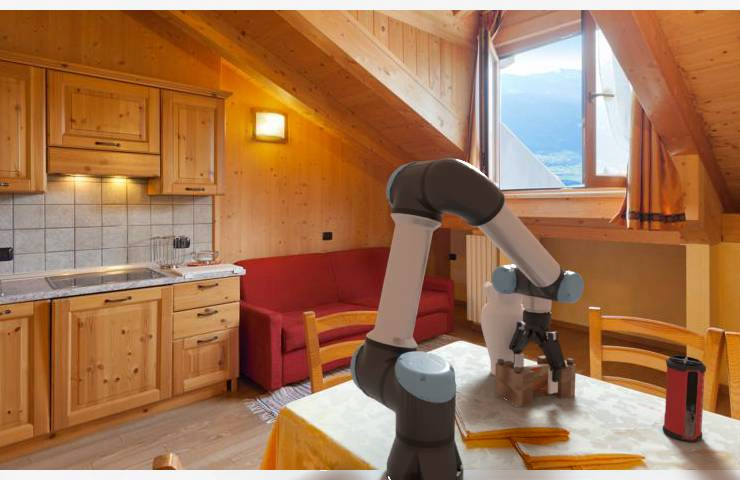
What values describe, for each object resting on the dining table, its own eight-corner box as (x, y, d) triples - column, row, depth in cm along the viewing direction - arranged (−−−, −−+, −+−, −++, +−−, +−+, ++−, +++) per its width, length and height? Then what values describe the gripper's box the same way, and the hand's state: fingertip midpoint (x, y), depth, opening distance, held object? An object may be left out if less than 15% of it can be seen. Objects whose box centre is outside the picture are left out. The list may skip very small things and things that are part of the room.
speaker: (664, 423, 113) (668, 352, 112) (703, 433, 108) (707, 358, 107) (660, 435, 107) (663, 360, 106) (700, 446, 103) (705, 367, 101)
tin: (515, 400, 127) (516, 370, 127) (509, 395, 130) (509, 366, 130) (560, 393, 132) (561, 364, 131) (553, 389, 135) (554, 361, 134)
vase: (478, 379, 142) (479, 286, 140) (481, 363, 156) (482, 279, 154) (528, 384, 138) (530, 288, 136) (526, 368, 152) (528, 281, 150)
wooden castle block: (575, 395, 130) (576, 360, 129) (517, 407, 122) (518, 370, 122) (550, 383, 139) (551, 350, 138) (494, 393, 131) (495, 358, 131)
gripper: (582, 318, 119) (579, 398, 120) (518, 300, 142) (516, 367, 143) (560, 321, 116) (557, 403, 117) (497, 302, 139) (496, 370, 141)
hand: (534, 383), depth 130 cm, fingers open, 13 cm apart
